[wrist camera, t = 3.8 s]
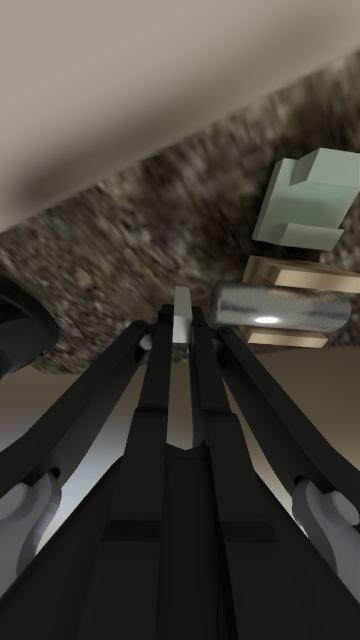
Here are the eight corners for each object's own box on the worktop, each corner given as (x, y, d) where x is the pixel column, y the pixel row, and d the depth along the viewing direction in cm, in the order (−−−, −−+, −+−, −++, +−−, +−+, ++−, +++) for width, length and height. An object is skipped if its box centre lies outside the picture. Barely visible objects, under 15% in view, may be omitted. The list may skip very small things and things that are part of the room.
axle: (207, 309, 21) (214, 331, 17) (215, 274, 18) (226, 290, 14) (301, 317, 22) (330, 340, 18) (322, 284, 19) (363, 302, 15)
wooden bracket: (230, 312, 25) (247, 342, 19) (249, 255, 20) (281, 269, 14) (286, 317, 26) (321, 347, 20) (318, 262, 21) (378, 279, 15)
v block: (251, 240, 19) (266, 243, 16) (275, 161, 15) (302, 145, 12) (316, 247, 20) (344, 252, 16) (356, 173, 16) (403, 160, 13)
